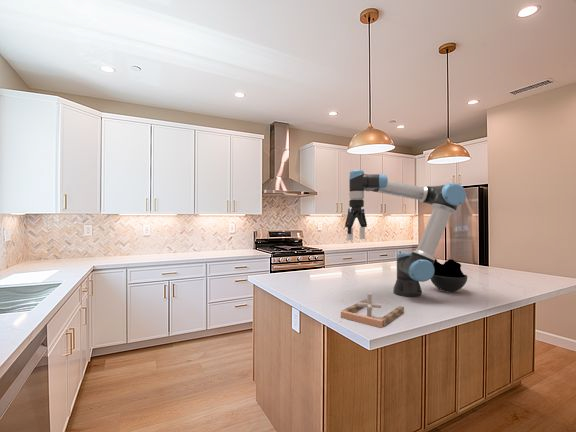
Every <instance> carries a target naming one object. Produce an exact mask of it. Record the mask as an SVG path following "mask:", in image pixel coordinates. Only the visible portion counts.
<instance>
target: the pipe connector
mask: <svg viewBox="0 0 576 432" xmlns="http://www.w3.org/2000/svg"><path fill="white" fill-rule="evenodd" d="M366 294H367V295H366V296H367V299H366V300H367V303H362V302H361V301H358V302H357V303H358V306H360V307H365V308H366V316H368V317H372V311H373V308H374V309H382V303H373V301H372V300H373V297H372V296H373V294H372V293H369V292H368V293H366Z"/></svg>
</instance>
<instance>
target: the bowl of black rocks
mask: <svg viewBox="0 0 576 432" xmlns="http://www.w3.org/2000/svg"><path fill="white" fill-rule="evenodd" d="M434 259H435V262H434V264H433V266H434V275H433V276H432V278H431V279H430V281H431V282H432V284H433V285H434V286H435V287H436V288H437V289H439V290H440V291H443V292H447V291H448V292H451V293H452V292H457V291H459V290H460V289H462V288H463V287H464V286H465V285H466V284H467V281H468V275H467V274H464V273H463V271H462V268H461V267H462V264H461V263H460V262H458V261H455V260H454V259H447V260H446V261H444V263H440V261H438V260H437V259H436V258H434Z"/></svg>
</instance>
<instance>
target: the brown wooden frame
mask: <svg viewBox="0 0 576 432" xmlns="http://www.w3.org/2000/svg"><path fill="white" fill-rule="evenodd" d="M360 302H362V303H367V299H363V300H360ZM364 308H366V307H360V306H358V302H357V303H355V304H353V305H351V306H348V307H346V308H344V309H343V310H341V311H347V312H351V313H355V314H356V312H359V311H361V310H362V309H364ZM404 313H405V307H404V306H401V305H399V306H398V307H395V309H393V310H391V311H390V312H388V313H387V314H385V315H384V316H382V317H380V318H379V319H381V320H383V327H386V326H388V325H389V324H390V323H391V322H393V321H395V319H397V318H398V317H400V316H401V315H403V314H404Z"/></svg>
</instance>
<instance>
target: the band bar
mask: <svg viewBox="0 0 576 432" xmlns="http://www.w3.org/2000/svg"><path fill="white" fill-rule="evenodd" d="M340 318H342V319H345V320H350V321H354V322H357V323H360V324H365V325H367V326H368V325H370V326H373V327H376V328H382V327H384V326H383V320H381V319H380V318H375V317H372V316H371V317H368V316H367V315H363V314H358V313H356V312H355V313H351V312H347V311H342V310H341V311H340Z"/></svg>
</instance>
